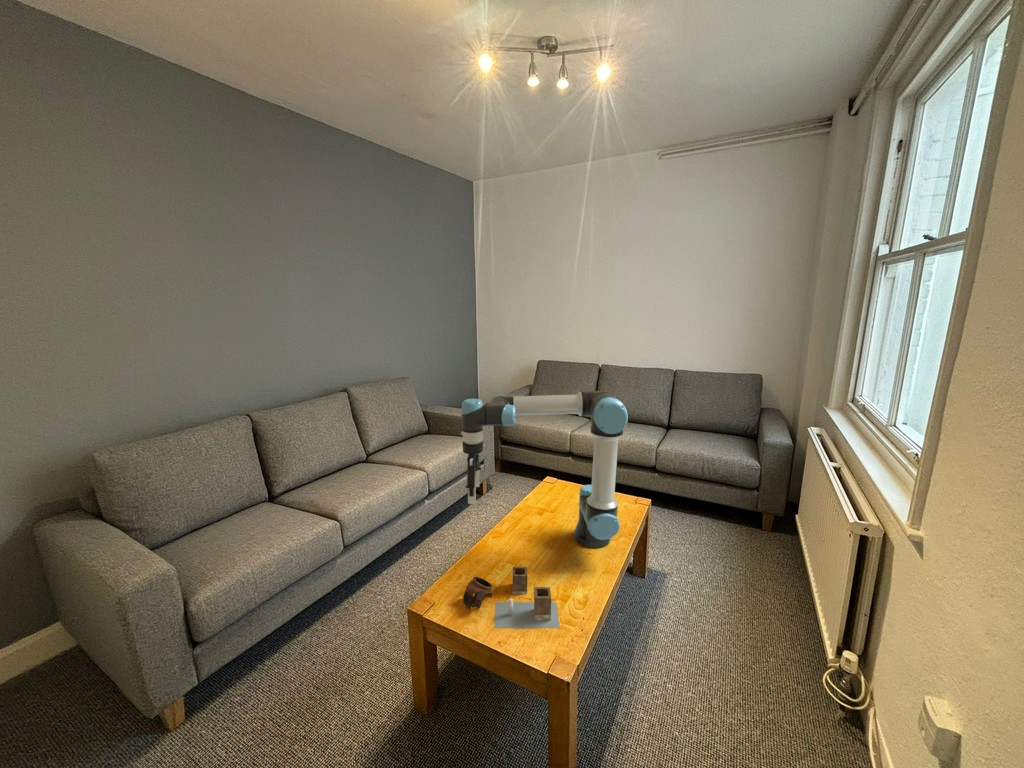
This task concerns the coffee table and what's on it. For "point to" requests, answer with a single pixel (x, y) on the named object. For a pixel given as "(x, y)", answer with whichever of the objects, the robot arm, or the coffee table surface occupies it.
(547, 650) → the coffee table surface
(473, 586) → the pottery mug
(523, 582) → the sleeve loose
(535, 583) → the coffee table surface
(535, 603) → the sleeve seated
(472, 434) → the robot arm
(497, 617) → the pin board
